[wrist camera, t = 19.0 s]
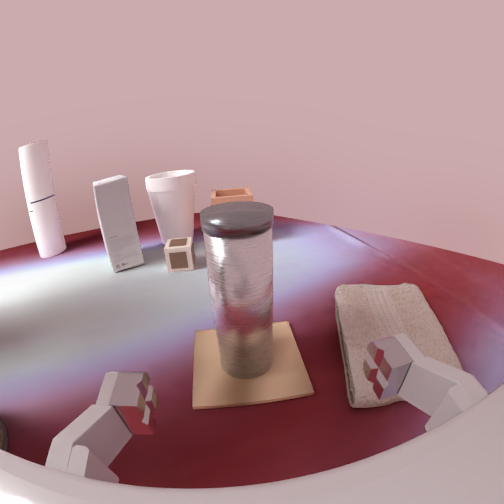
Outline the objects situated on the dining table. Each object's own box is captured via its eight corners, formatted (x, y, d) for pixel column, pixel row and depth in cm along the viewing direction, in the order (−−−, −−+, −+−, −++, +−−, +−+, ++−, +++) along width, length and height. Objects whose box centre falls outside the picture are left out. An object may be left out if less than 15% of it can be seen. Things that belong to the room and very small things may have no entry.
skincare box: (145, 264, 45) (130, 176, 39) (112, 274, 42) (92, 185, 36) (135, 248, 51) (122, 172, 45) (107, 257, 49) (91, 180, 42)
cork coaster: (193, 409, 20) (192, 406, 20) (195, 333, 29) (195, 330, 29) (313, 394, 21) (314, 391, 21) (287, 323, 30) (287, 321, 30)
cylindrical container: (59, 255, 50) (37, 140, 40) (35, 259, 49) (12, 150, 39) (70, 243, 57) (52, 139, 46) (47, 247, 55) (28, 147, 45)
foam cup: (185, 227, 61) (179, 169, 56) (210, 237, 55) (204, 171, 49) (147, 240, 55) (137, 177, 50) (168, 253, 49) (157, 180, 43)
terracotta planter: (215, 248, 50) (210, 198, 46) (215, 234, 56) (211, 190, 52) (255, 244, 50) (253, 195, 47) (250, 231, 57) (248, 187, 53)
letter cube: (168, 273, 42) (163, 248, 40) (171, 261, 46) (167, 238, 44) (194, 271, 43) (190, 246, 41) (195, 259, 46) (192, 235, 45)
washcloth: (410, 295, 34) (415, 275, 32) (464, 397, 17) (478, 375, 16) (328, 297, 35) (330, 276, 34) (347, 416, 19) (356, 395, 18)
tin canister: (220, 382, 22) (197, 225, 17) (218, 344, 27) (201, 204, 21) (278, 375, 23) (280, 218, 17) (268, 339, 27) (266, 199, 22)
